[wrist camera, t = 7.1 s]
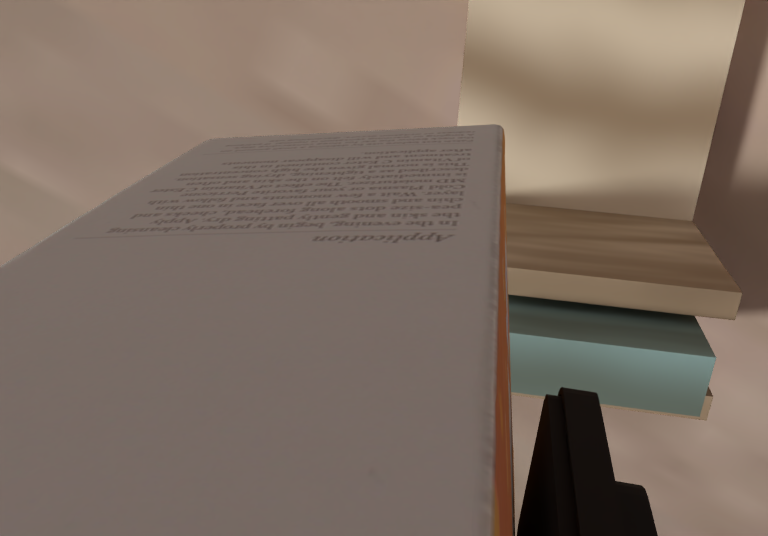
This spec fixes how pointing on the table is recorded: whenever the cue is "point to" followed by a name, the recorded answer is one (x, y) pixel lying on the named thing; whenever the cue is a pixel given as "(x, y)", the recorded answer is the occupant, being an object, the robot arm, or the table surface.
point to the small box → (269, 346)
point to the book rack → (606, 190)
